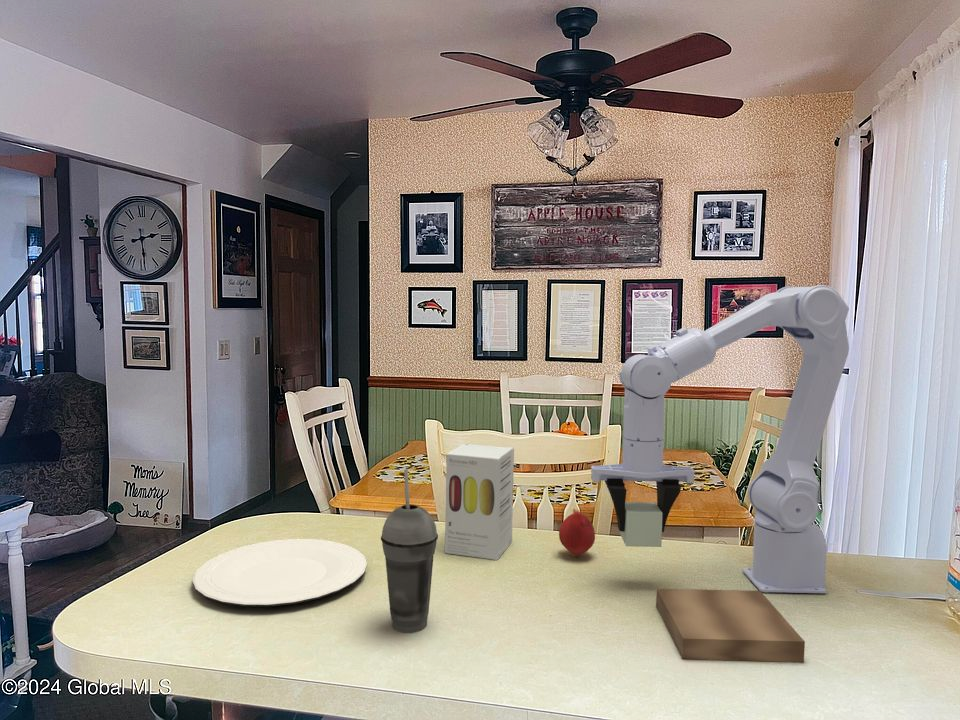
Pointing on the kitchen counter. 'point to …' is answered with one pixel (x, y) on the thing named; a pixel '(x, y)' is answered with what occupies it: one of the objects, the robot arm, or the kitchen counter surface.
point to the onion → (577, 533)
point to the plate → (279, 572)
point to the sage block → (642, 525)
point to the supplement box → (479, 500)
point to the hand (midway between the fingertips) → (640, 529)
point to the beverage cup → (409, 563)
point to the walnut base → (728, 626)
